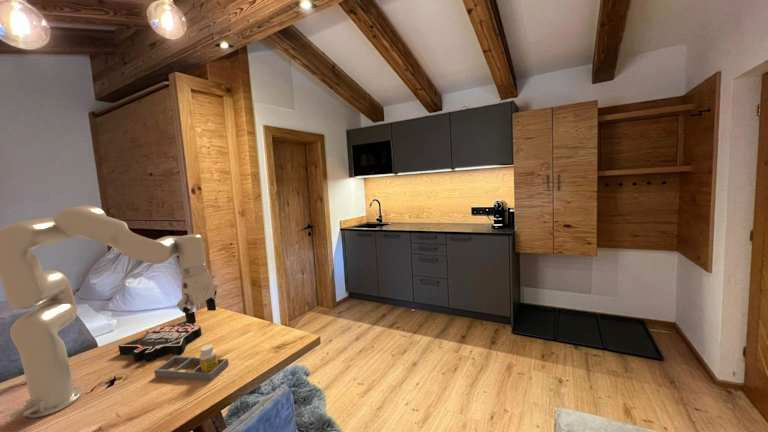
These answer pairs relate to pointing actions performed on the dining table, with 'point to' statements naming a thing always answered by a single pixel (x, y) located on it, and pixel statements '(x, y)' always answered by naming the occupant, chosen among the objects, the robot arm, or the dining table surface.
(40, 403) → the robot arm
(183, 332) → the wall plaque
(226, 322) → the dining table surface
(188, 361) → the slot rack
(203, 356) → the supplement bottle
